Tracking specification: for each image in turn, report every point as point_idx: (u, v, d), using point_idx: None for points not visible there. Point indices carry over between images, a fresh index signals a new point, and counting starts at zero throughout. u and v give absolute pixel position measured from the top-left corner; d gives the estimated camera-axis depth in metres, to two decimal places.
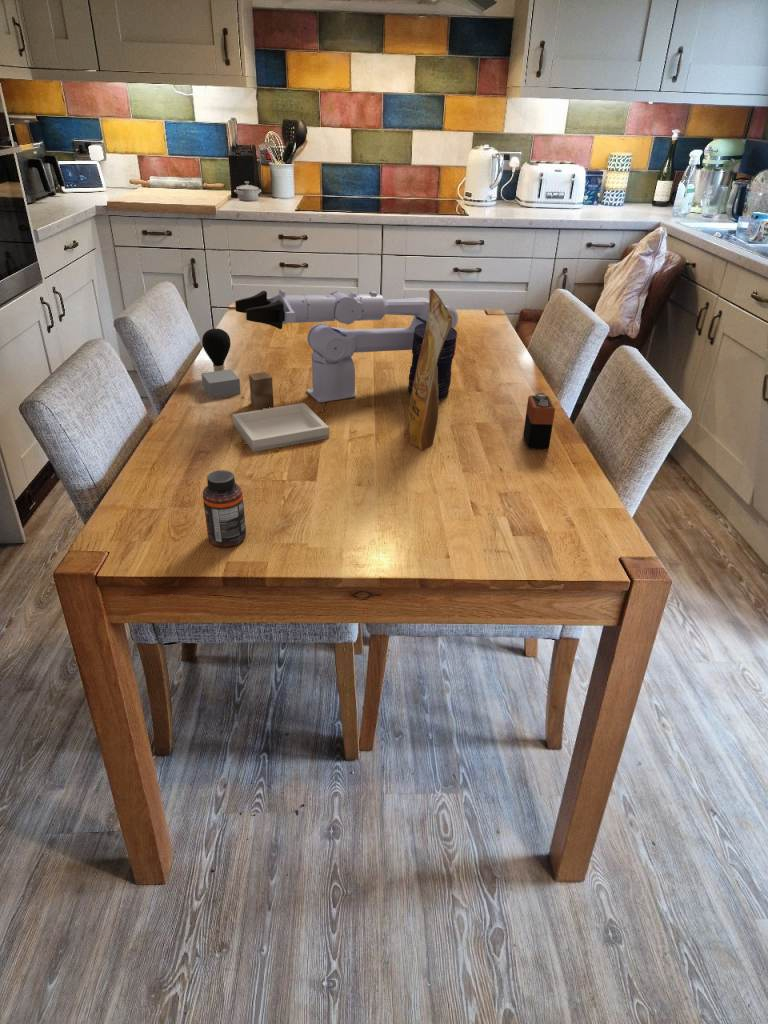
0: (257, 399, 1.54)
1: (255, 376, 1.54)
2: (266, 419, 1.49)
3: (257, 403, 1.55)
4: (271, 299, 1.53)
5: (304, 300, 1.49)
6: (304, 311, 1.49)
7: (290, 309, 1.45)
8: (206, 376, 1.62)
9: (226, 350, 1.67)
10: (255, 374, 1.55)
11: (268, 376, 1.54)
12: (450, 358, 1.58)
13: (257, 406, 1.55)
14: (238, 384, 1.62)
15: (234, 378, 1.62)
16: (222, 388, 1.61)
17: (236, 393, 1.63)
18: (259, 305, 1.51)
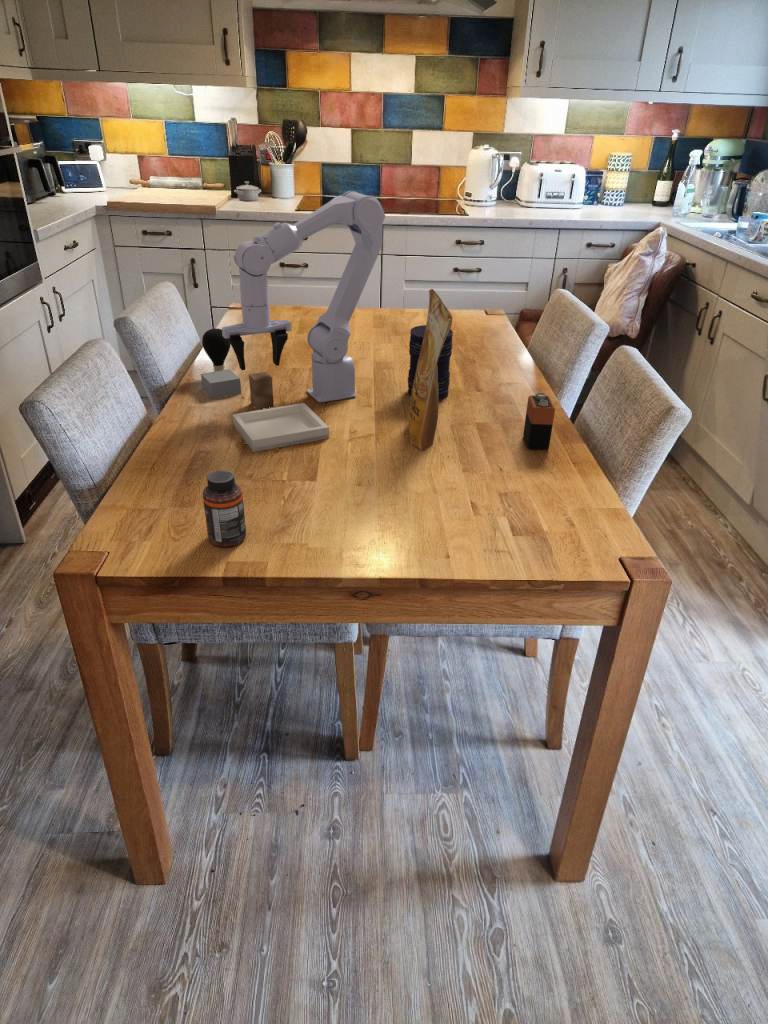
0: (257, 399, 1.54)
1: (255, 376, 1.54)
2: (266, 419, 1.49)
3: (257, 403, 1.55)
4: None
5: None
6: (242, 308, 1.46)
7: None
8: (206, 376, 1.62)
9: (226, 350, 1.67)
10: (255, 374, 1.55)
11: (268, 376, 1.54)
12: (447, 356, 1.59)
13: (257, 406, 1.55)
14: (239, 384, 1.62)
15: (234, 378, 1.62)
16: (222, 388, 1.61)
17: (237, 393, 1.63)
18: (274, 341, 1.52)
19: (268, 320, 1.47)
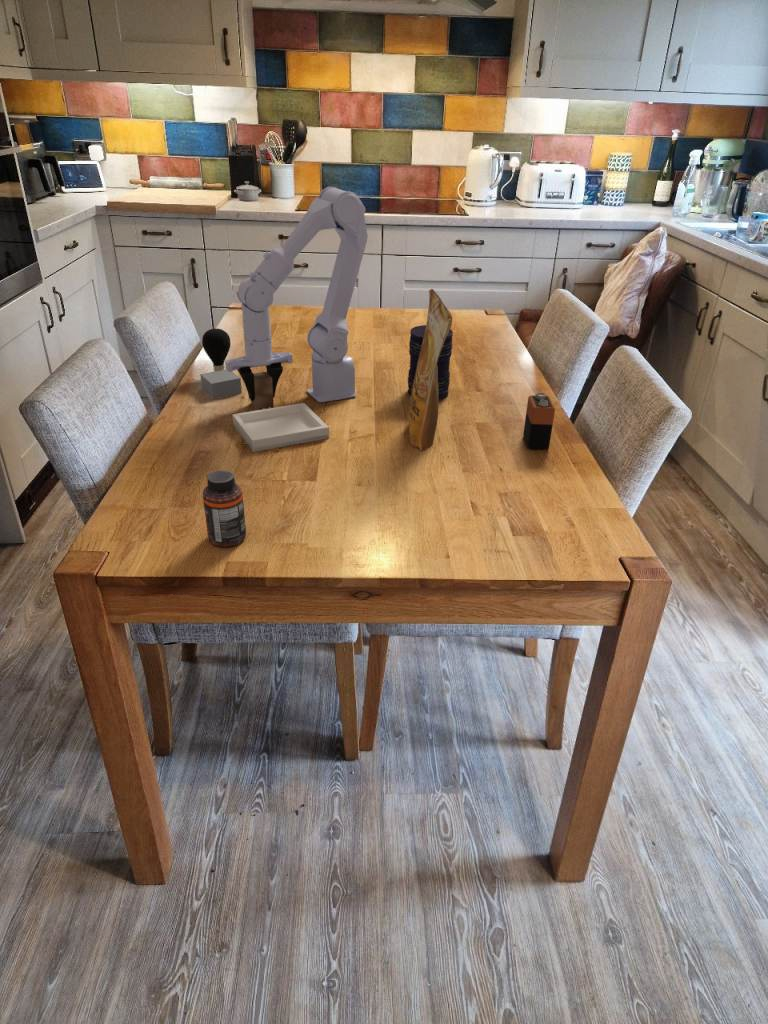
0: (257, 399, 1.54)
1: (255, 376, 1.54)
2: (266, 419, 1.49)
3: (257, 403, 1.55)
4: None
5: None
6: (244, 342, 1.49)
7: None
8: (206, 377, 1.62)
9: (226, 350, 1.67)
10: (255, 374, 1.55)
11: (268, 376, 1.54)
12: (447, 356, 1.59)
13: (257, 406, 1.55)
14: (239, 383, 1.63)
15: (235, 377, 1.62)
16: (223, 388, 1.61)
17: (237, 392, 1.63)
18: (269, 374, 1.55)
19: (270, 353, 1.51)
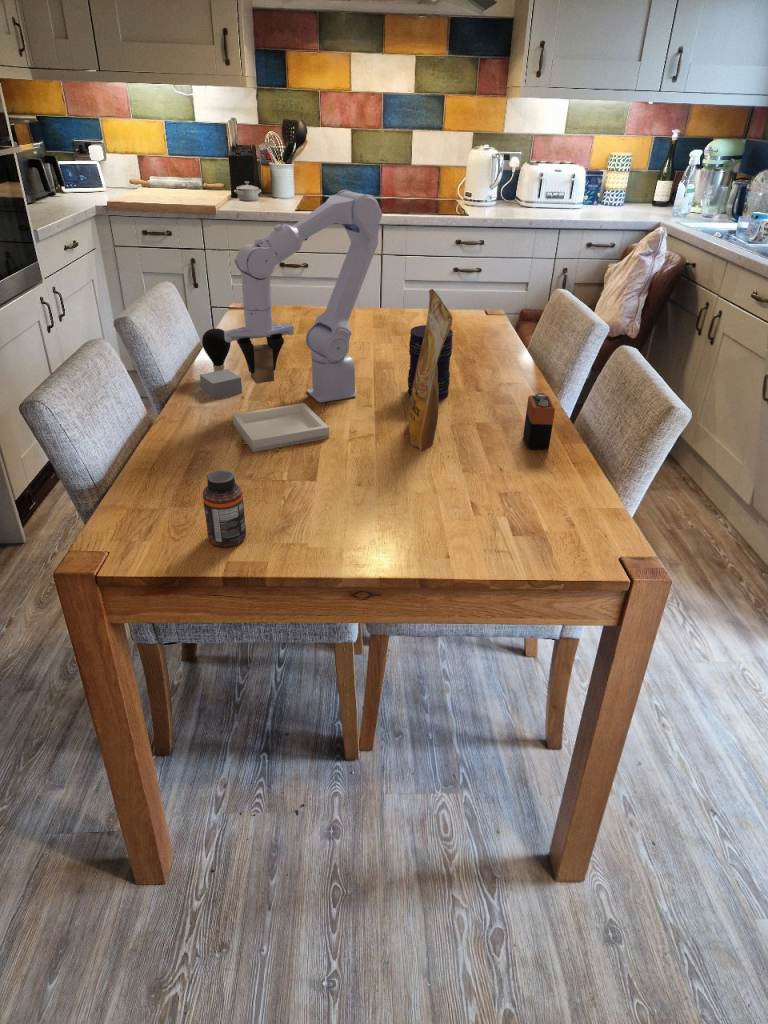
0: (257, 372, 1.49)
1: (255, 348, 1.49)
2: (266, 419, 1.49)
3: (257, 376, 1.50)
4: None
5: None
6: (244, 311, 1.44)
7: None
8: (206, 377, 1.62)
9: (226, 350, 1.67)
10: (255, 346, 1.50)
11: (268, 348, 1.49)
12: (447, 356, 1.59)
13: (257, 379, 1.50)
14: (240, 383, 1.63)
15: (235, 377, 1.62)
16: (224, 388, 1.61)
17: (238, 392, 1.63)
18: (270, 346, 1.50)
19: (271, 324, 1.46)
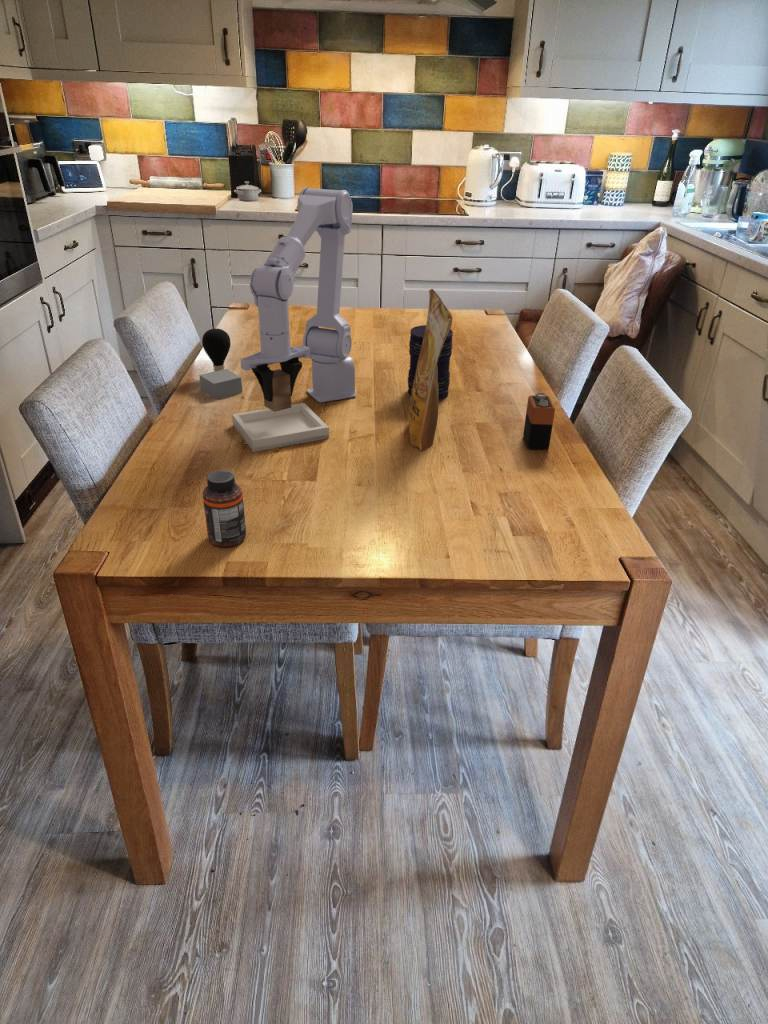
0: (275, 399, 1.40)
1: None
2: (266, 419, 1.49)
3: (275, 404, 1.40)
4: None
5: None
6: (261, 336, 1.34)
7: None
8: (206, 377, 1.62)
9: (226, 350, 1.67)
10: None
11: (285, 373, 1.40)
12: (447, 356, 1.59)
13: (275, 407, 1.41)
14: (240, 382, 1.63)
15: (235, 377, 1.62)
16: (225, 388, 1.61)
17: (238, 392, 1.64)
18: (286, 371, 1.41)
19: (289, 348, 1.37)
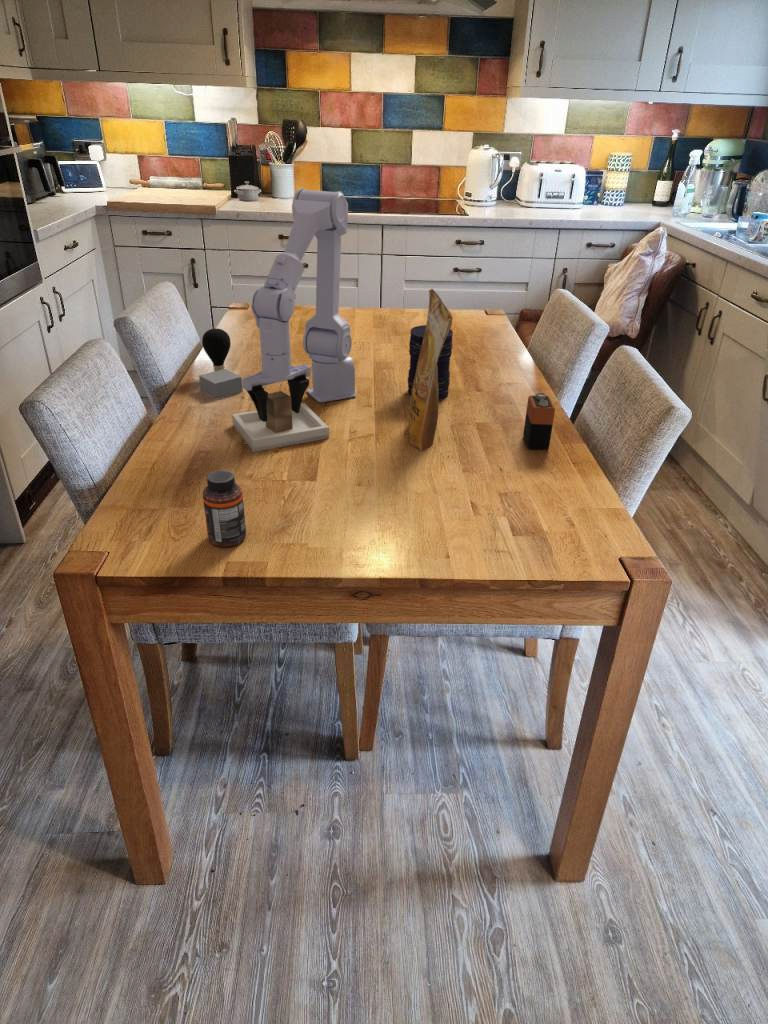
0: (276, 421, 1.42)
1: (272, 396, 1.42)
2: None
3: (276, 425, 1.43)
4: None
5: None
6: (262, 357, 1.36)
7: None
8: (206, 377, 1.62)
9: (226, 350, 1.67)
10: (271, 394, 1.43)
11: (286, 395, 1.42)
12: (447, 356, 1.59)
13: (276, 429, 1.43)
14: (240, 382, 1.63)
15: (236, 376, 1.63)
16: (226, 388, 1.61)
17: (239, 391, 1.64)
18: (293, 388, 1.44)
19: (290, 367, 1.39)
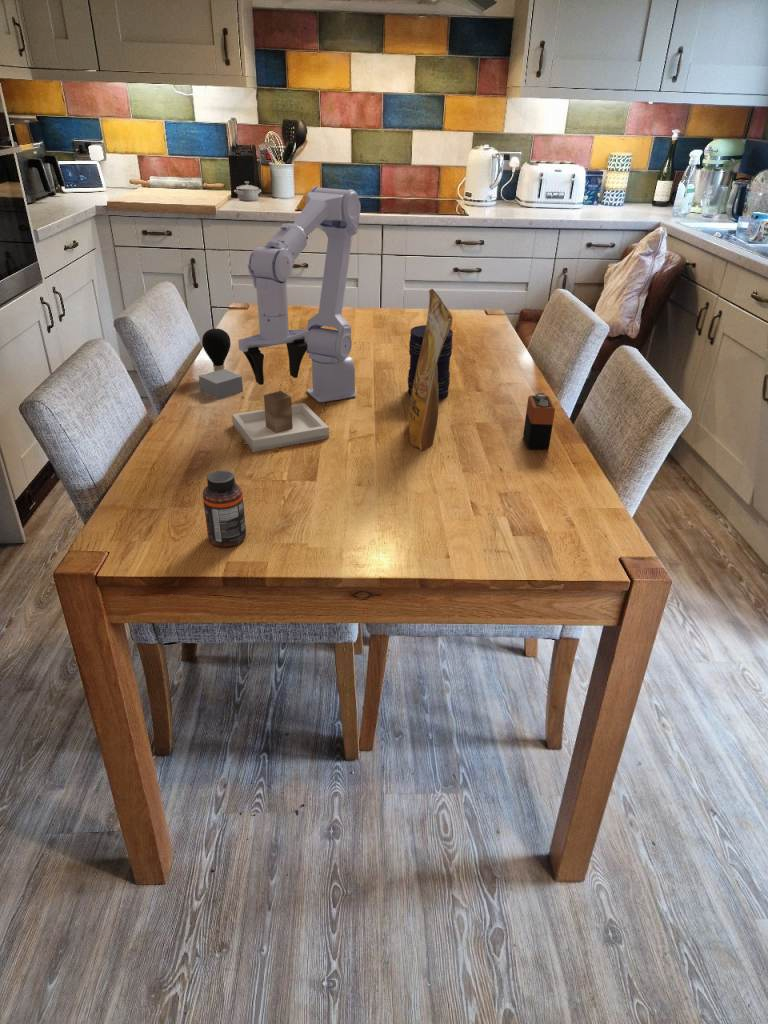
0: (276, 421, 1.42)
1: (272, 396, 1.42)
2: None
3: (276, 425, 1.43)
4: None
5: None
6: (259, 318, 1.35)
7: None
8: (206, 378, 1.62)
9: (226, 350, 1.67)
10: (271, 394, 1.43)
11: (286, 395, 1.42)
12: (447, 356, 1.59)
13: (276, 429, 1.43)
14: (240, 382, 1.63)
15: (236, 376, 1.63)
16: (227, 387, 1.61)
17: (239, 391, 1.64)
18: (292, 352, 1.42)
19: (287, 330, 1.37)
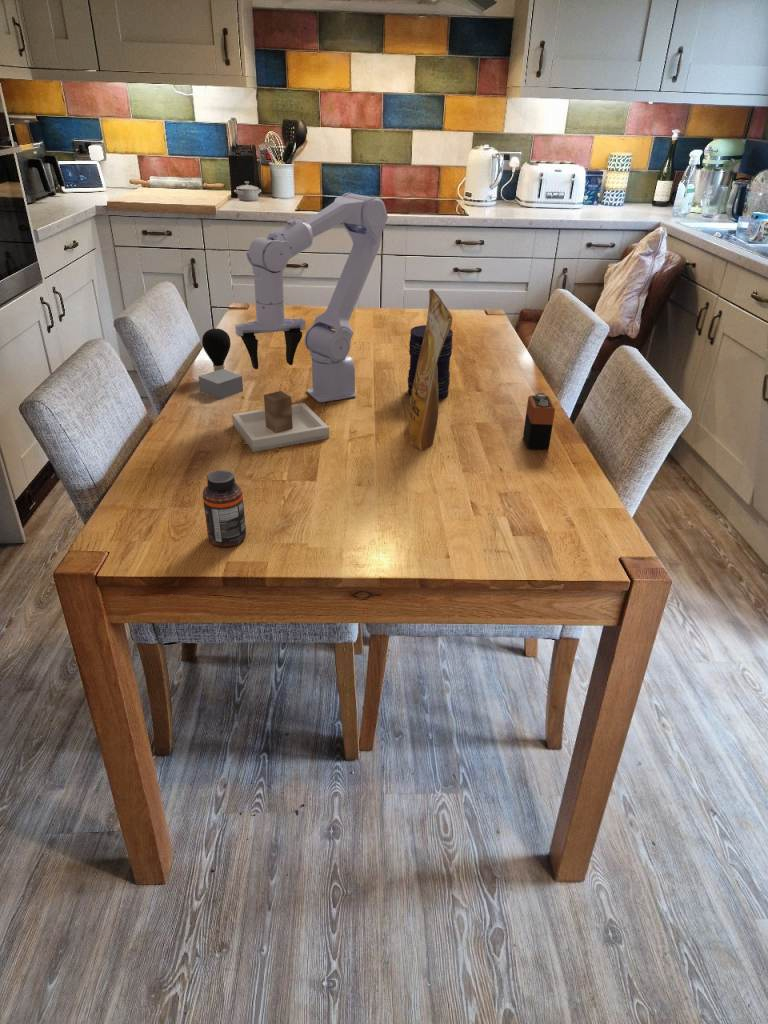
0: (276, 421, 1.42)
1: (272, 396, 1.42)
2: None
3: (276, 425, 1.43)
4: None
5: None
6: (256, 305, 1.43)
7: None
8: (207, 378, 1.61)
9: (226, 350, 1.67)
10: (271, 394, 1.43)
11: (286, 395, 1.42)
12: (447, 356, 1.59)
13: (276, 429, 1.43)
14: (241, 381, 1.64)
15: (236, 376, 1.63)
16: (228, 387, 1.61)
17: (239, 390, 1.64)
18: (288, 340, 1.49)
19: (282, 318, 1.44)
